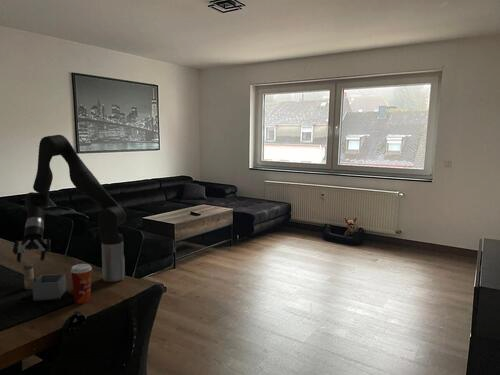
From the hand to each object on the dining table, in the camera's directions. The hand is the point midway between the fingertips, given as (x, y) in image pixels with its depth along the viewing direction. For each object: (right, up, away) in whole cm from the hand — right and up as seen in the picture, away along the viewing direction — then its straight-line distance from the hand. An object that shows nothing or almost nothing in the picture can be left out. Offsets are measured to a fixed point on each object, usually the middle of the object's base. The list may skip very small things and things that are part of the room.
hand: (30, 261), depth 160 cm
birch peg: (+2, -11, -4) cm, 11 cm away
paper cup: (+29, -13, -15) cm, 35 cm away
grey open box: (+14, -12, -10) cm, 21 cm away
